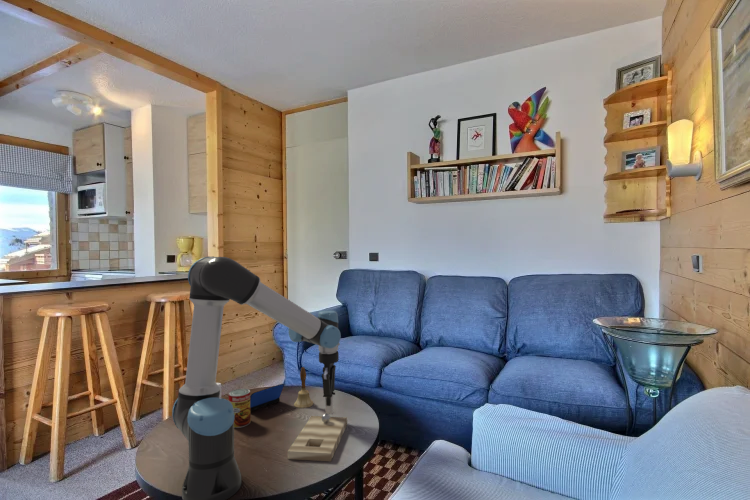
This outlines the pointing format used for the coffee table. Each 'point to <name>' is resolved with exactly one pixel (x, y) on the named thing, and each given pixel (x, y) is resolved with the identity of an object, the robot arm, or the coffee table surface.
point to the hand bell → (303, 393)
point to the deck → (318, 439)
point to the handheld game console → (265, 397)
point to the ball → (325, 418)
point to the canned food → (240, 407)
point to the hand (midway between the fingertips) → (329, 412)
